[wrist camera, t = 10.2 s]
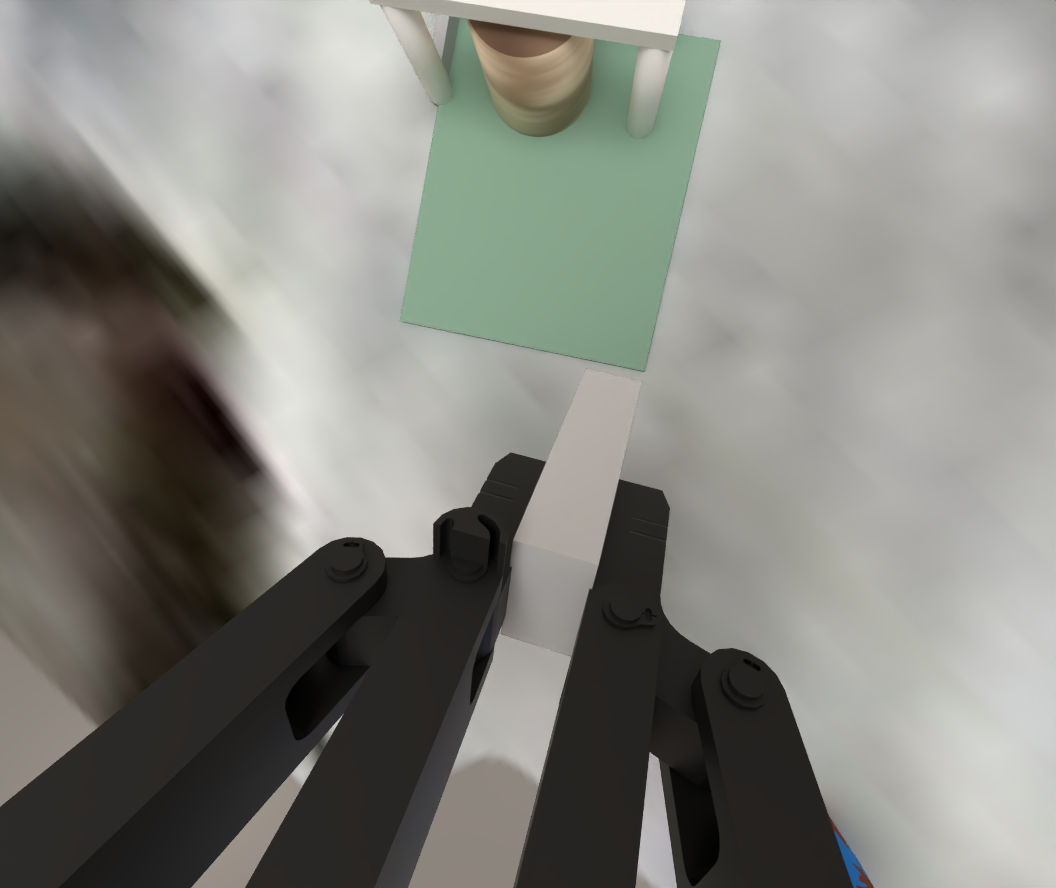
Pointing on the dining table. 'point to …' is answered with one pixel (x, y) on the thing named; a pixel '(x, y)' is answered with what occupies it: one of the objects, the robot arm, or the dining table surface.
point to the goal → (555, 6)
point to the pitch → (556, 211)
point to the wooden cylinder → (534, 75)
